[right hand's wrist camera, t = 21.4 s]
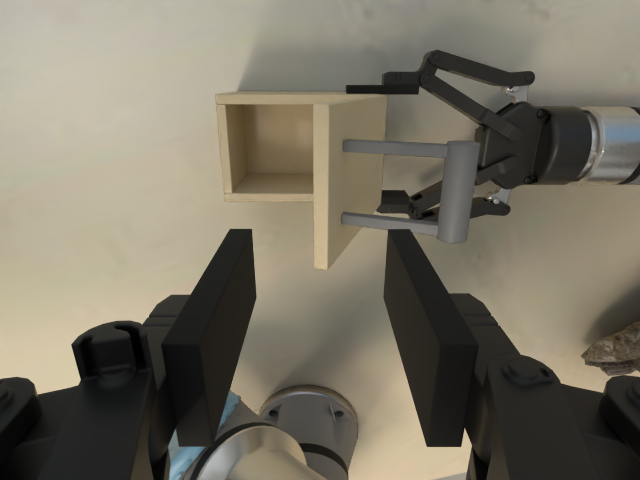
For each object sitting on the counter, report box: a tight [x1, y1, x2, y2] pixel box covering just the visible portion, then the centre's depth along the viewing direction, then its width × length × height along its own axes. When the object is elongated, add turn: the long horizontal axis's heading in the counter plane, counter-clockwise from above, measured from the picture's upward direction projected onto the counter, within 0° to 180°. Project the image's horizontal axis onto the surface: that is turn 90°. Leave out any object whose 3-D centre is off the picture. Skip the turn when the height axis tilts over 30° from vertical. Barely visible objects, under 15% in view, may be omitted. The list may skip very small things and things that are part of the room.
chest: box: [215, 91, 380, 202], centre depth 42 cm, size 15×10×10 cm
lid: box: [313, 95, 480, 270], centre depth 29 cm, size 15×10×9 cm
